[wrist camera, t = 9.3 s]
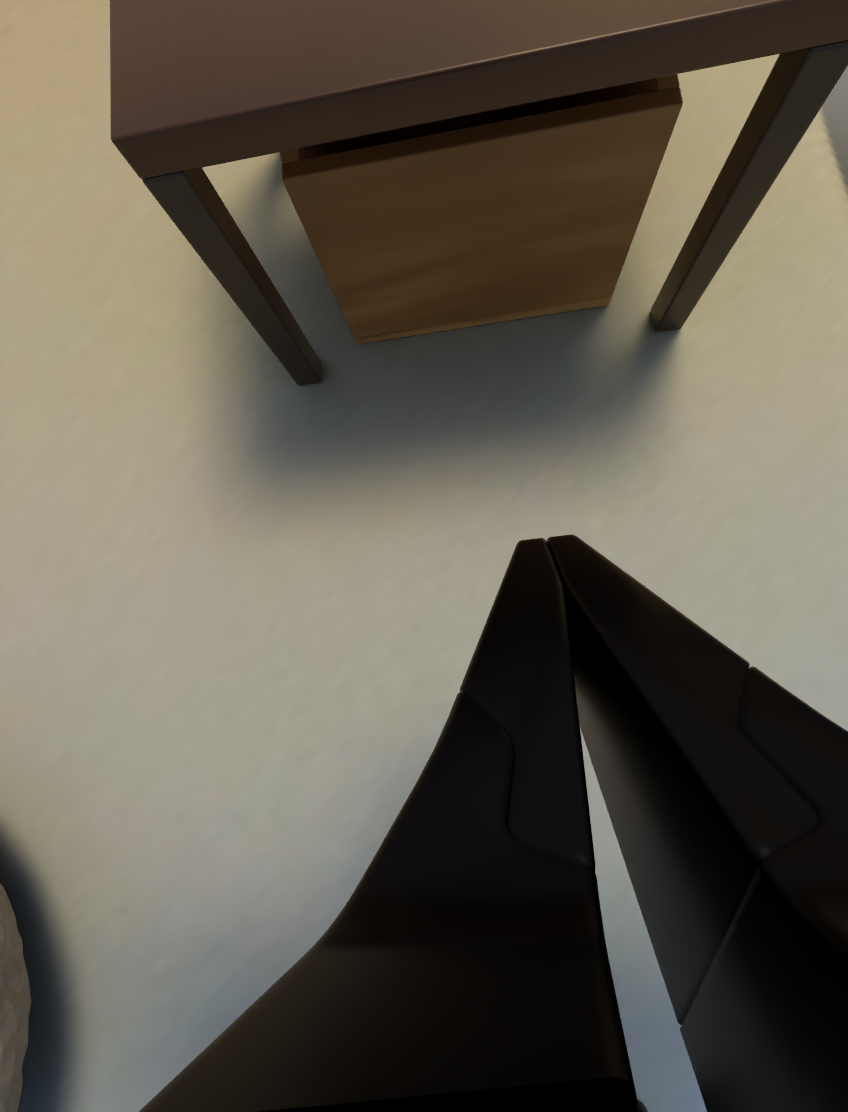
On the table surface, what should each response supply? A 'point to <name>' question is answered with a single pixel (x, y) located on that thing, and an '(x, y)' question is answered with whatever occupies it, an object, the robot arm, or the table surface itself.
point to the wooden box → (483, 209)
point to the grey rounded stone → (12, 1007)
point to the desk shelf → (436, 99)
